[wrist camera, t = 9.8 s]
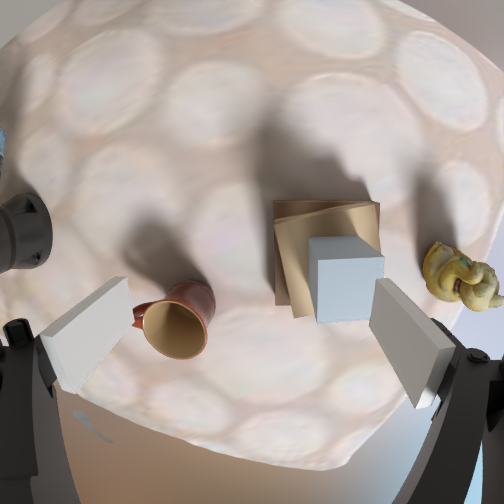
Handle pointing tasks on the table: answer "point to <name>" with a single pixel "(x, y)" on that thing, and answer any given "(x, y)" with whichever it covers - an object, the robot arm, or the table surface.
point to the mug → (178, 320)
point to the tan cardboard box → (297, 207)
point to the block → (342, 277)
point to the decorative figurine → (460, 278)
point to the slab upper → (319, 225)
